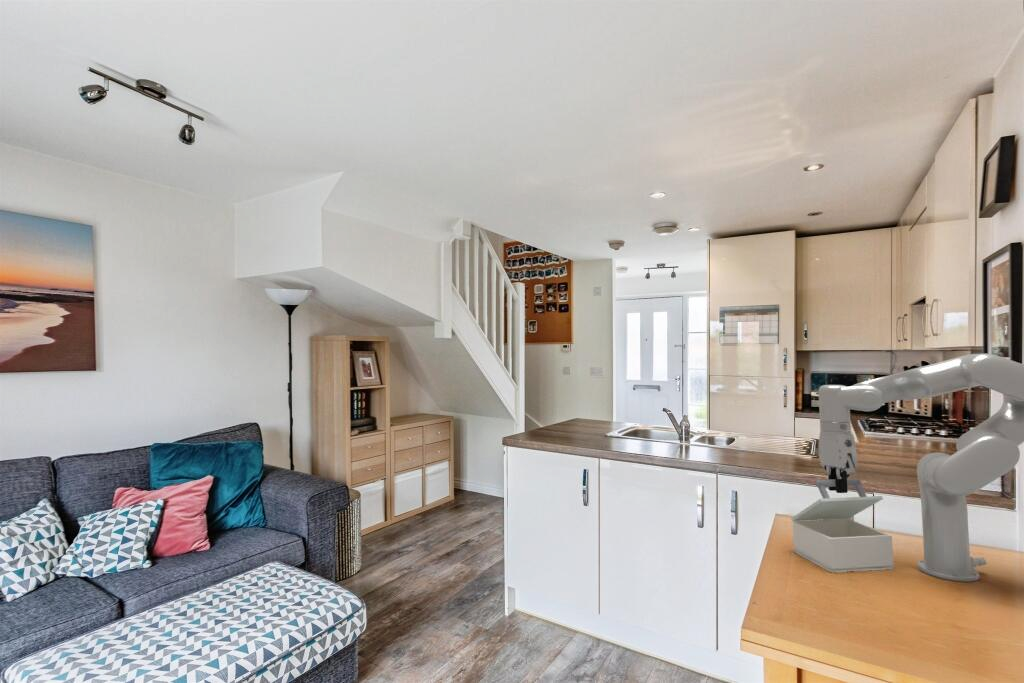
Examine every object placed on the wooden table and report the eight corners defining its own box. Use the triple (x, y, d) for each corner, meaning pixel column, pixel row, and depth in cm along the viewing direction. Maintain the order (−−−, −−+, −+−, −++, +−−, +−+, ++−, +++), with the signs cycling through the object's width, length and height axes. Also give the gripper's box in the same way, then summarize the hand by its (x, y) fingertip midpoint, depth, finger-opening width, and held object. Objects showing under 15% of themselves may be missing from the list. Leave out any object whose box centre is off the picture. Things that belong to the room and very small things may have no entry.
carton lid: (848, 518, 156) (838, 496, 160) (883, 498, 143) (871, 475, 147) (792, 521, 154) (783, 498, 159) (821, 501, 142) (810, 477, 146)
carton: (849, 548, 156) (848, 518, 156) (893, 569, 140) (891, 535, 140) (794, 551, 154) (792, 521, 155) (831, 572, 138) (830, 538, 139)
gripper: (869, 430, 141) (872, 498, 140) (827, 424, 157) (830, 484, 156) (843, 431, 140) (846, 499, 139) (804, 424, 156) (807, 485, 155)
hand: (838, 490), depth 148 cm, fingers closed
